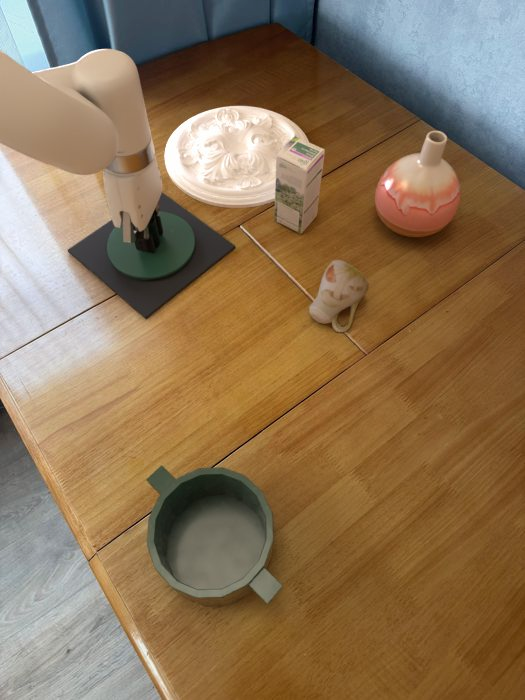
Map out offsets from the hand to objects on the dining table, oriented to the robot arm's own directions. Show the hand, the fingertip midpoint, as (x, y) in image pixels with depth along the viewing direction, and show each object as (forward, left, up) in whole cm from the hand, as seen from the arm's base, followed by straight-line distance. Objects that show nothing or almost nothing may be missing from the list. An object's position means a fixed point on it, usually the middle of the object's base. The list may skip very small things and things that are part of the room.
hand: (150, 241), depth 88 cm
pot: (-26, -42, -2) cm, 49 cm away
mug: (+12, -30, -2) cm, 32 cm away
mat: (0, 0, -2) cm, 2 cm away
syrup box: (+22, -13, -2) cm, 26 cm away
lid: (0, 0, -1) cm, 1 cm away
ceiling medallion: (+27, +6, -2) cm, 28 cm away
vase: (+35, -28, -2) cm, 45 cm away
